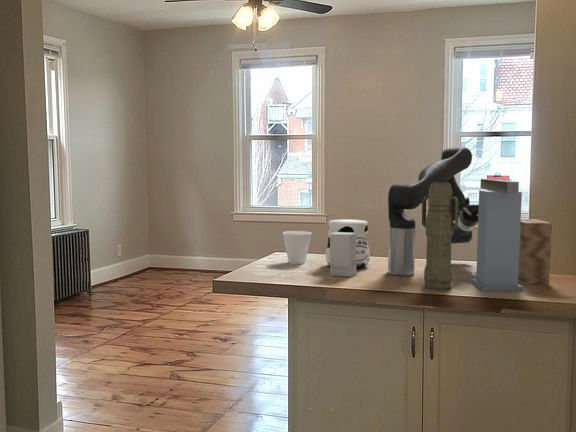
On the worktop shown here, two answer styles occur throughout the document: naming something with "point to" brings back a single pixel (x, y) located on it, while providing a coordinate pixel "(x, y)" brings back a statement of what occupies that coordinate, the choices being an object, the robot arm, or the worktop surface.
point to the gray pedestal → (498, 241)
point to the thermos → (439, 235)
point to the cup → (297, 245)
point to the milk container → (361, 238)
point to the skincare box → (343, 254)
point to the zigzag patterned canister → (534, 251)
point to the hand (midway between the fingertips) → (480, 200)
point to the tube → (500, 185)
